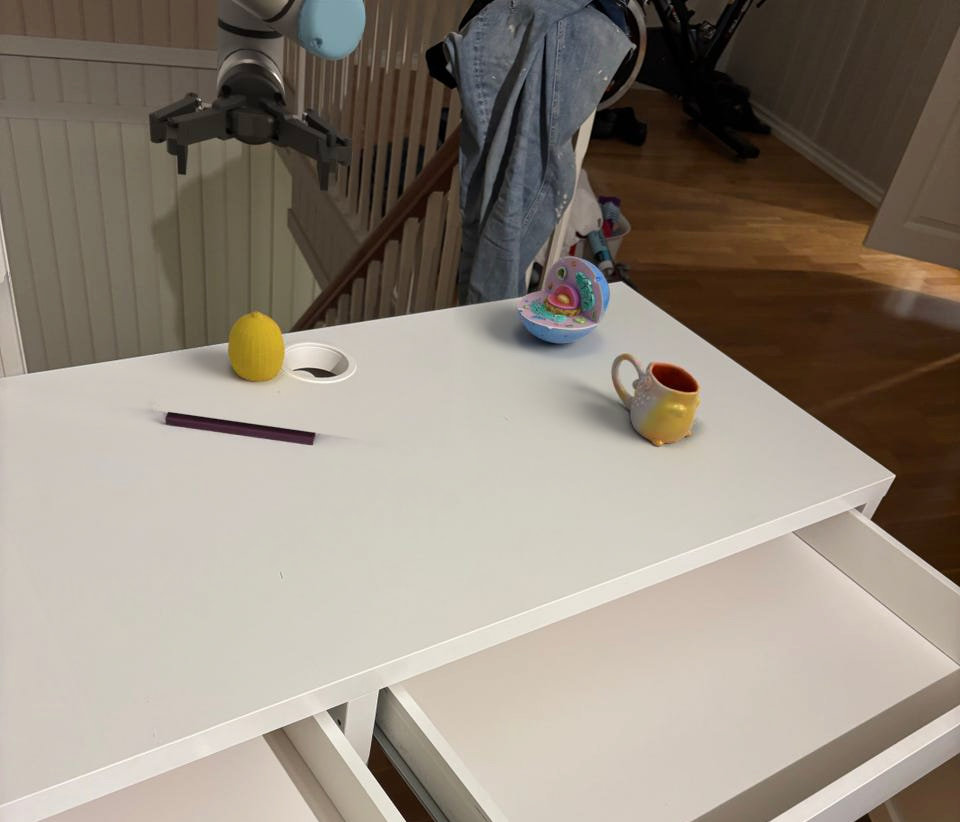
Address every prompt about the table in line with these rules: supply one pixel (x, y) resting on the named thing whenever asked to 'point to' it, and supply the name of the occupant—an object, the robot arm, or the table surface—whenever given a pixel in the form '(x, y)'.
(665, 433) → the mug
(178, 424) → the dark purple flat bar
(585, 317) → the cell model
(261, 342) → the lemon
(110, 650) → the table surface
